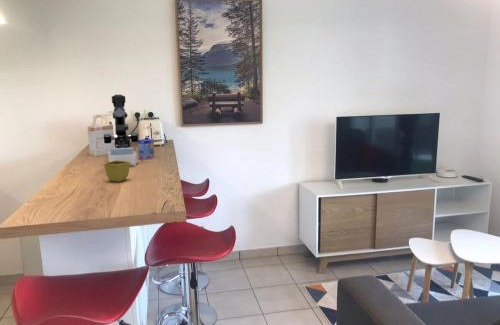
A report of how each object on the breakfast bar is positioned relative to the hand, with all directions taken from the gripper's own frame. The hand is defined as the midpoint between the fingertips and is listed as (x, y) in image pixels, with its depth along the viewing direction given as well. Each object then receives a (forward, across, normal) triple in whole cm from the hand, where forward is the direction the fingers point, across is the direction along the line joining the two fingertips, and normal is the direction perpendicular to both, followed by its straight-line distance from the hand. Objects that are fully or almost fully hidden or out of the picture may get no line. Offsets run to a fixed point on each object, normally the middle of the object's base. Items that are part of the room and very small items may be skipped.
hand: (121, 149), depth 230 cm
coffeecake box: (-26, -12, +40) cm, 49 cm away
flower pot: (+32, -3, -18) cm, 36 cm away
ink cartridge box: (-8, +14, +22) cm, 27 cm away
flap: (+1, 0, +3) cm, 3 cm away
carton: (+1, 0, +12) cm, 13 cm away
